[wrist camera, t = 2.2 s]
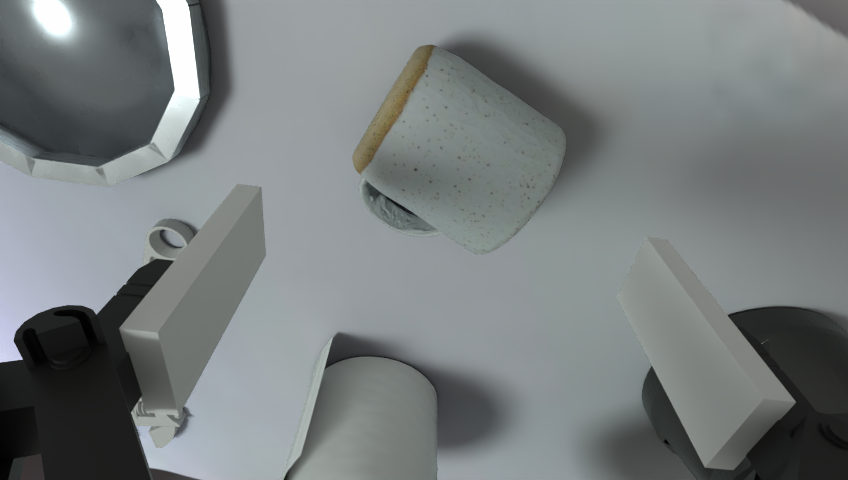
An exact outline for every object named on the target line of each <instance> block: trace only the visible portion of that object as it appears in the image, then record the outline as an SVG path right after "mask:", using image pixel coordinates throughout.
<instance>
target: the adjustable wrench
mask: <svg viewBox="0 0 848 480" xmlns="http://www.w3.org/2000/svg"><path fill="white" fill-rule="evenodd" d="M162 229H165V230H169V231H171V232H173V233H175V234H176V235H178V236H179V237H180V238H181V240H182V241H183V243H184V246H183V247H182V248H175V247H172V246H170V245H168V244H167V243H165V242H164V241H163V239H162V238H161V236H160V231H161V230H162ZM193 238H194V235H193V232H192V231H191V230H190V229H189V227H187V226H186V225H185V224H184V223H182V222H180V221H178V220H174V219H163V220H161V221H159V222H158V223H157V224H156V225H155V226H154V227H153V228H152V229H150V230H149V231H148V232H147V235H146V240H145V249H144V258H143V266H144V265H146V264H148V263H150V262H151V261H153V260H155V259H165V260H173V261H175V260H176V258H177V257H178V256H179V255H180V253H181V252H182V251H183V250H184V249H185V247H186V246H187V245H188V244H189V243H190V241H191V240H192V239H193ZM131 414H132V417H133V420H134V423H135V426H152V427H151V429H150V430H149V434H150V436H151V438H152V440H153V442H154V444H155V446H156V448H162V447H164V446H166V445H167V444H168V443H170V441H171V440H172V439H173V437H174V435H175V433H176V432H177V430H178V428H179V427H180V426H181V424H182V423H183V421H184V419H185V417H186V413H185V412H183V409H182V411H181V413H180V415H179V416H178V415H168V414H158V413H147V412H146V411H145V408H144V405H143V402H142V399H141V398H140V399H139V401H138V403H137V404H136V406H135V407H134V409H133V410H132V412H131Z"/></svg>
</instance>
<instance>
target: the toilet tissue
mask: <svg viewBox="0 0 848 480" xmlns="http://www.w3.org/2000/svg"><path fill="white" fill-rule="evenodd" d="M332 338H333V337H332ZM332 338H331V339H330V340H329V342H328V343H327V345H326V346H325V348H324V349H323V350H322V352H321V354H320V357H319V359H318V362H317V364H316V366H315V369H314V372H313V375H312V378H311V382H310V385H309V389H308V392H307V396H306V399H305V402H304V405H303V409H302V413H301V416H300V419H299V423H298V426H297V430H296V433H295V436H294V440H293V443H292V446H291V450H290V453H289V456H288V459H287V463H286V467H285V470H284V474H283V477H282V480H437V471H438V468H437V447H438V444H437V439H438V432H437V414H438V411H437V407H438V403H437V394H436V391H435V388H434V387H433V386H432V384H431V383H430V382H429V380H428V379H427V378H426V377H424V376H423V375H422V374H421V373H420V372H419V371H417V370H415V369H414V368H412V367H411V366H408V365H406V364H404V363H401V362H399V361H395V360H391V359H388V358H381V357H356V358H350V359H346V360H343V361H340V362H337V363H335V364H333V365H331V366H329V367H327V368H326V369H325V365H326V361H327V358H328V354H329V350H330V346H331V343H332ZM324 369H325V370H324Z"/></svg>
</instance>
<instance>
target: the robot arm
mask: <svg viewBox="0 0 848 480" xmlns="http://www.w3.org/2000/svg"><path fill="white" fill-rule="evenodd" d="M265 256H266V250H265V235H264V221H263V206H262V191H261V187H257V186H249V185H242V184H237V185H236V186H235V188H234V189H233V190H232V191H231V193H230V194H229V195H228V196H227V197H226V199H225V200H224V201H223V202H222V204H221V205H220V206H219V207H218V208H217V210H216V211H215V212H214V213H213V214H212V216H211V217H210V218H209V219H208V221H207V222H206V223H205V224H204V225H203V227H202V228H201V229H200V230H199V232H198V233H197V234H196V235H195V236H194V238H193V239H192V240H191V241H190V243H189V244H188V245H187V246H186V247H185V249H184V250H183V251H182V252H181V253H180V255H179V256H178V257H177V258H176V260H175V261H173V260H165V259H155V260H153V261H151V262H150V263H148V264H146V265H144V266H143V267H141V268H139V269H138V270H137V271H136V272H135V273H134V274H133V275H132V277H131V278H130V279H129V280H128V281H127V283H126V285H123V286H122V288H121V289H120V290H119V291H118V292H117V295H116V296H113V297H112V298H111V300H110V301H109V302H108V303H107V304H106V305H105V306H104V307H103V308H102V309H101V311H100V312H99V313H98V314H97V315H96V314H95V312H94V311H93V310H92V309H90V308H87V307H84V306H76V305H67V306H61V307H56V308H52V309H49V310H46V311H44V312H41V313H38V314H36V315H35V316H33V317H32V318H30V319H29V320H27V321H25V322H24V323H23V324H22V325H21V326H20V328H19V329H18V330H17V331H16V333H15V337H14V342H15V344H16V346H17V348H18V350H19V352H20V354H21V356H22V358H23V360H17V361H10V362H2V363H0V480H20V477H21V472H22V468H23V464H24V460H25V457H26V456H30V455H36V454H41V456H42V463H43V469H44V476H45V480H153V478H152V475H151V472H150V469H149V466H148V463H147V459H146V456H145V453H144V450H143V447H142V444H141V441H140V438H139V435H138V432H137V429H136V426H135V423H134V420H133V417H132V414H131V412H132V410H133V409H134V407H135V406H136V404H137V403H138V401H139V399H140V398H141V399H142V402H143V405H144V408H145V411H146V412H147V413H158V414H168V415H178V416H179V415H180V413H181V411H182V409H183V407H184V405H185V404H186V402H187V400H188V398H189V396H190V394H191V392H192V391H193V389H194V387H195V385H196V383H197V381H198V379H199V378H200V376H201V374H202V372H203V370H204V368H205V367H206V365H207V363H208V361H209V359H210V357H211V355H212V354H213V352H214V350H215V348H216V346H217V344H218V343H219V341H220V339H221V337H222V335H223V333H224V331H225V330H226V328H227V326H228V324H229V322H230V320H231V319H232V317H233V315H234V313H235V311H236V309H237V307H238V306H239V304H240V302H241V300H242V298H243V296H244V295H245V293H246V291H247V289H248V287H249V285H250V283H251V282H252V280H253V278H254V276H255V274H256V272H257V270H258V269H259V267H260V265H261V263H262V261H263V259H264V258H265ZM617 299H618V301H619V303H620V305H621V307H622V309H623V311H624V313H625V315H626V317H627V318H628V320H629V322H630V324H631V326H632V328H633V330H634V332H635V334H636V336H637V338H638V340H639V342H640V344H641V345H642V347H643V349H644V351H645V353H646V355H647V357H648V359H649V361H650V363H651V365H652V368H651V369H650V371H649V373H648V375H647V377H646V379H645V382H644V385H643V390H642V401H643V405H644V408H645V411H646V413H647V415H648V417H649V419H650V421H651V424H652V426H653V428H654V430H655V432H656V434H657V435H658V437H659V438H660V439H661V441H662V442H663V443H664V444H665V445H666V446H667V447H668V448H669V449H670V450H671V451H672V452H674V453H675V454H677V455H678V456H679V457H680V458H681V459H682V461H683V462H684V463H685V465H686V466H687V467H688V469H689V470H690V471H691V473H692V474H693V475H694V476H695V477H696V479H697V480H848V333H847V332H846V331H845V330H844V329H843V328H842V327H841V326H840V325H838V324H837V323H836V322H834V321H833V320H831V319H830V318H828V317H826V316H823V315H821V314H818V313H815V312H811V311H807V310H802V309H793V308H768V309H759V310H753V311H747V312H743V313H738V314H735V315H731V316H727V314H726V313H725V312H724V311H723V309H722V308H721V307H720V305H719V304H718V303H717V302H716V300H715V299H714V298H713V297H712V295H711V294H710V293H709V292H708V290H707V289H706V288H705V287H704V285H703V284H702V283H701V282H700V280H699V279H698V278H697V276H696V275H695V274H694V273H693V271H692V270H691V269H690V268H689V266H688V265H687V264H686V263H685V261H684V260H683V259H682V258H681V256H680V255H679V254H678V252H677V251H676V250H675V249H674V247H673V246H672V245H671V244H670V242H669V241H668V240H666V239H658V238H650V237H646V238H645V240H644V242H643V244H642V246H641V248H640V251H639V253H638V255H637V257H636V259H635V261H634V263H633V265H632V267H631V269H630V271H629V273H628V275H627V277H626V279H625V281H624V283H623V285H622V287H621V290H620V292H619V294H618V296H617Z"/></svg>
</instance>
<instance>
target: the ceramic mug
mask: <svg viewBox="0 0 848 480" xmlns="http://www.w3.org/2000/svg"><path fill="white" fill-rule="evenodd" d="M565 154H566V136H565V134H564V132H563V130H562V129H561V127H559V126H558V125H557V124H555V123H554V122H553V121H551V120H550V119H548V118H546V117H545V116H543V115H542V114H540V113H539V112H537V111H536V110H535V109H533V108H532V107H530V106H529V105H527V104H526V103H525V102H523V101H522V100H520V99H519V98H518V97H516V96H515V95H513V94H512V93H511V92H509V91H508V90H506V89H505V88H503V87H501V86H500V85H498V84H497V83H495V82H494V81H492V80H491V79H490V78H488V77H487V76H485V75H484V74H483V73H481V72H480V71H479V70H477V69H476V68H474V67H473V66H471V65H470V64H469V63H467V62H466V61H464V60H463V59H462V58H460V57H458V56H456V55H454V54H452V53H450V52H448V51H446V50H444V49H442V48H440V47H437V46H434V45H426V46H421V47H419V48H417V49H416V50H415V52H414V53H413V55H412V56H411V58H410V60H409V61H408V63H407V65H406V66H405V68H404V69H403V71H402V73H401V74H400V76H399V77H398V79H397V81H396V82H395V84H394V86H393V87H392V89H391V91H390V92H389V94H388V96H387V97H386V99H385V101H384V102H383V104H382V106H381V107H380V109H379V110H378V112H377V114H376V116H375V117H374V119H373V121H372V122H371V124H370V126H369V127H368V129H367V131H366V133H365V134H364V136H363V138H362V139H361V141H360V143H359V145H358V146H357V148H356V150H355V152H354V154H353V163H354V167H355V169H356V171H357V172H358V173H359V174H360V175H361V176H362V178H361V181H360V188H359V193H360V196H361V199H362V201H363V203H364V205H365V206H366V208H367V209H368V210H369V211H370V212H371V214H372V215H374V216H375V217H376V218H377V219H378V220H379V221H381V222H382V223H383V224H385V225H386V226H388V227H390V228H392V229H393V230H396V231H398V232H401V233H403V234H407V235H410V236H416V237H430V236H435V235H440V234H445V235H446V236H448V237H449V238H450V239H452V240H453V241H455V242H456V243H458V244H459V245H461V246H462V247H464V248H465V249H467V250H468V251H470V252H472V253H474V254H485V253H489V252H491V251H493V250H495V249H497V248H498V247H500V246H502V245H503V244H505V243H506V242H508V241H509V240H510V239H511V238H512V237H513V236H514V235H515V234H516V233H518V232H519V231H520V230H521V229H522V228H523V227H524V226H525V224H526V223H527V222H528V221H529V220H530V218H531V217H532V215H533V214H534V213H535V212H536V210H537V209H538V208H539V207H540V205H541V204H542V203H543V201H544V200H545V198H546V197H547V195H548V194H549V192H550V191H551V189H552V188H553V186H554V184H555V182H556V179H557V177H558V175H559V172H560V169H561V166H562V164H563V161H564V158H565ZM379 191H380V192H381V193H382V194H381V193H380V192H379ZM383 194H384V195H385V196H387V197H389V198H390V199H392V200H394V201H395V202H397V203H399V204H400V205H402V206H404V207H405V208H407V209H408V210H410V211H411V212H413V213H414V214H416V215H417V216H415V215H413V214H409V213H407V212H405V211H404V210H402V209H401V208H399V207H398V206H396V205H395V204H394V203H393V202H391V201H390V200H388V199H387V198H386V197H385V196H384V195H383Z"/></svg>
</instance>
